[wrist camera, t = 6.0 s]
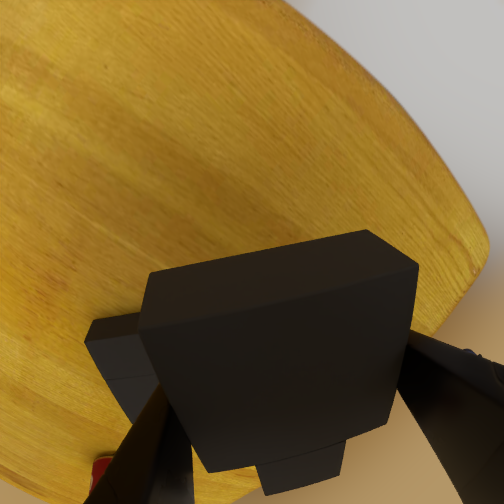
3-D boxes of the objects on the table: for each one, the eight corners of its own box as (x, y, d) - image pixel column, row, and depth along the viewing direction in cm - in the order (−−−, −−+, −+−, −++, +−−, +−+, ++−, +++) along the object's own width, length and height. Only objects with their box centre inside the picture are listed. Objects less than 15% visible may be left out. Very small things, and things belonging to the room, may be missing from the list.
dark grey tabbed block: (367, 228, 8) (420, 263, 6) (351, 420, 12) (374, 462, 10) (148, 271, 8) (135, 328, 5) (218, 455, 11) (226, 503, 9)
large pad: (267, 285, 20) (277, 305, 18) (283, 403, 25) (291, 425, 23) (92, 319, 19) (83, 341, 17) (150, 427, 24) (149, 449, 21)
